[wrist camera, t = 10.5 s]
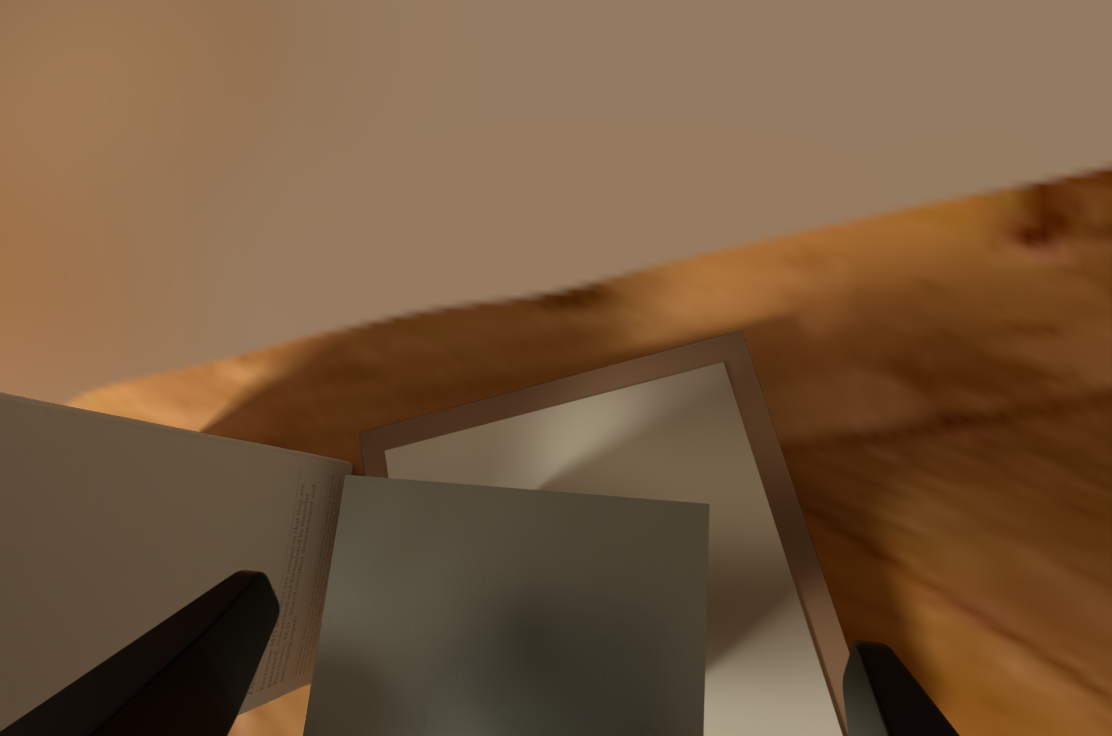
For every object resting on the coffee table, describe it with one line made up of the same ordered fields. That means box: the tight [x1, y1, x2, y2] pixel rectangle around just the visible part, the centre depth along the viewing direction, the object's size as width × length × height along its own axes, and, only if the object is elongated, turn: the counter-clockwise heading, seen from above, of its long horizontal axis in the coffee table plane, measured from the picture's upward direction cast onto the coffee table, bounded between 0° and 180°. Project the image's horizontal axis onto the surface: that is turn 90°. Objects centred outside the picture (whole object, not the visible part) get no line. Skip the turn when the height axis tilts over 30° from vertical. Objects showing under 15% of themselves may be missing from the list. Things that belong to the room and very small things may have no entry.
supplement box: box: [0, 393, 353, 731], centre depth 15 cm, size 7×7×13 cm
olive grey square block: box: [303, 475, 709, 736], centre depth 12 cm, size 5×5×10 cm
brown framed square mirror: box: [359, 331, 850, 736], centre depth 18 cm, size 12×12×3 cm
